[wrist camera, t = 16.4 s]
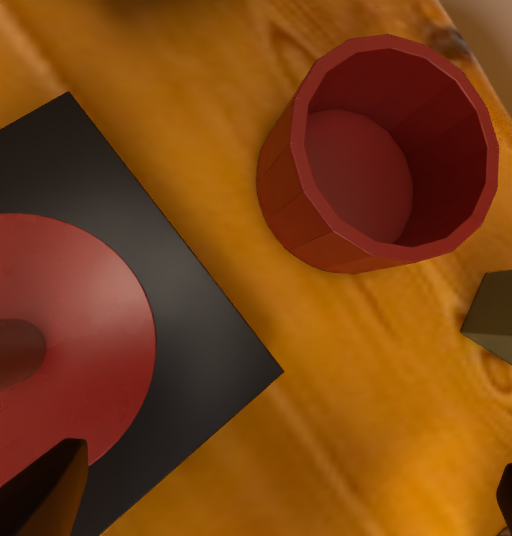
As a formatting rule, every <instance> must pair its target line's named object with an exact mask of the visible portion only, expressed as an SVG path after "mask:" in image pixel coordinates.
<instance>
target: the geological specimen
mask: <svg viewBox="0 0 512 536" xmlns="http://www.w3.org/2000/svg"><path fill="white" fill-rule="evenodd" d="M498 536H511V534H510V531H509V529H508V527H507V528H506V529H505V530H504V531H503V532H502V533H500V534H499V535H498Z"/></svg>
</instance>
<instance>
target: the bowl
mask: <svg viewBox="0 0 512 536" xmlns="http://www.w3.org/2000/svg"><path fill="white" fill-rule="evenodd" d="M498 147H499V145H498V141H497V138H496V135H495V131H494V128H493V125H492V122H491V118H490V115H489V112H488V108H487V107H486V104H485V103H484V102H483V100H482V99H481V97H480V96H479V94H478V93H477V92H476V90H475V89H474V87H473V86H472V84H471V83H470V81H469V80H468V79H467V77H466V76H465V74H464V73H463V72H461V70H460V69H459V68H458V67H456V66H455V65H453V64H452V63H451V62H449V61H448V60H447V59H445V58H444V57H443V56H441V55H440V54H439V53H437V52H436V51H435V50H433V49H432V48H431V47H429V46H427V45H424V44H421V43H417V42H414V41H411V40H407V39H404V38H400V37H397V36H393V35H389V34H385V35H377V36H369V37H361V38H353V39H349V40H347V41H345V42H344V43H342V44H341V45H339V46H338V47H336V48H335V49H333V50H332V51H330V52H329V53H327V54H326V55H324V56H322V57H321V58H319V59H318V60H316V62H315V63H314V64H313V66H312V67H311V69H310V70H309V72H308V74H307V75H306V77H305V78H304V80H303V81H302V83H301V85H300V86H299V88H298V89H297V91H296V92H295V94H294V96H293V97H292V99H291V100H290V102H289V103H288V105H287V107H286V108H285V110H284V111H283V113H282V114H281V116H280V118H279V119H278V121H277V122H276V124H275V126H274V127H273V129H272V131H271V133H270V134H269V136H268V137H267V139H266V141H265V143H264V144H263V146H262V148H261V151H260V156H259V161H258V166H257V177H256V183H257V194H258V198H259V203H260V207H261V209H262V212H263V215H264V217H265V219H266V221H267V224H268V226H269V227H270V229H271V230H272V232H273V233H274V235H275V236H276V238H277V239H278V240H279V241H280V242H281V244H282V245H283V246H284V247H285V248H286V249H287V250H289V251H290V252H291V253H292V254H293V255H294V256H296V257H297V258H299V259H300V260H302V261H303V262H305V263H307V264H309V265H311V266H313V267H316V268H318V269H321V270H325V271H329V272H334V273H348V274H357V273H363V272H368V271H373V270H379V269H384V268H389V267H395V266H400V265H405V264H411V263H416V262H419V261H423V260H426V259H429V258H433V257H436V256H440V255H443V254H446V253H450V252H452V251H454V250H455V249H456V248H457V247H458V246H459V245H461V244H462V243H463V242H464V241H465V240H466V239H467V238H468V237H469V236H470V235H472V234H473V233H474V232H475V231H476V230H477V229H478V228H479V227H480V226H481V225H482V223H483V221H484V219H485V216H486V214H487V212H488V210H489V207H490V205H491V203H492V200H493V198H494V196H495V194H496V191H497V187H498V162H499V148H498Z"/></svg>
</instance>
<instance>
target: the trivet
mask: <svg viewBox="0 0 512 536" xmlns="http://www.w3.org/2000/svg"><path fill="white" fill-rule="evenodd" d="M2 213H22V214H34V215H40V216H45V217H51V218H54V219H58V220H61V221H64V222H67V223H70V224H72V225H75V226H77V227H79V228H81V229H83V230H86V231H87V232H89V233H91V234H92V235H94V236H96V237H97V238H99V239H100V240H102V241H103V242H104V243H106V244H107V245H108V246H109V247H111V248H112V249H113V250H114V251H115V252H116V253H117V254H118V255H119V256H120V257H121V258H122V259H123V260H124V261H125V262H126V263H127V264H128V266H129V267H130V268H131V270H132V271H133V272H134V274H135V275H136V277H137V278H138V280H139V282H140V284H141V286H142V287H143V289H144V291H145V293H146V296H147V298H148V301H149V304H150V306H151V310H152V314H153V318H154V323H155V331H156V359H155V365H154V371H153V376H152V380H151V383H150V386H149V389H148V392H147V395H146V397H145V399H144V401H143V404H142V406H141V408H140V410H139V412H138V413H137V415H136V417H135V418H134V420H133V422H132V423H131V425H130V426H129V428H128V429H127V430H126V431H125V433H124V434H123V435H122V436H121V438H120V439H119V440H118V441H117V442H116V443H115V444H114V445H113V446H112V447H111V448H110V449H109V450H108V451H107V452H106V453H105V454H104V455H103V456H102V457H100V458H99V459H98V460H97V461H95V462H94V463H93V464H91V465H90V466H89V467H88V477H87V482H86V485H85V489H84V492H83V495H82V498H81V501H80V505H79V508H78V511H77V514H76V517H75V521H74V524H73V527H72V530H71V533H70V536H99V535H100V534H101V533H102V532H104V531H105V530H106V529H107V528H108V527H109V526H110V525H112V524H113V523H114V522H115V521H116V520H117V519H118V518H119V517H121V516H122V515H123V514H124V513H125V512H126V511H127V510H128V509H130V508H131V507H132V506H133V505H134V504H135V503H136V502H138V501H139V500H140V499H141V498H142V497H143V496H144V495H145V494H147V493H148V492H149V491H150V490H151V489H152V488H153V487H155V486H156V485H157V484H158V483H159V482H160V481H161V480H162V479H164V478H165V477H166V476H167V475H168V474H169V473H170V472H171V471H173V470H174V469H175V468H176V467H177V466H178V465H179V464H181V463H182V462H183V461H184V460H185V459H186V458H187V457H188V456H190V455H191V454H192V453H193V452H194V451H195V450H196V449H198V448H199V447H200V446H201V445H202V444H203V443H204V442H205V441H207V440H208V439H209V438H210V437H211V436H212V435H213V434H215V433H216V432H217V431H218V430H219V429H220V428H221V427H222V426H224V425H225V424H226V423H227V422H228V421H229V420H230V419H231V418H233V417H234V416H235V415H236V414H237V413H238V412H239V411H241V410H242V409H243V408H244V407H245V406H246V405H247V404H248V403H250V402H251V401H252V400H253V399H254V398H255V397H256V396H258V395H259V394H260V393H261V392H262V391H263V390H264V389H265V388H267V387H268V386H269V385H270V384H271V383H272V382H273V381H274V380H276V379H277V378H278V377H279V376H280V375H281V374H282V373H284V370H283V369H282V368H281V366H280V365H279V364H278V363H277V361H276V360H275V359H274V357H273V356H272V355H271V353H270V352H269V351H268V350H267V348H266V347H265V346H264V344H263V343H262V342H261V340H260V339H259V338H258V337H257V335H256V334H255V333H254V331H253V330H252V329H251V327H250V326H249V325H248V323H247V322H246V321H245V320H244V318H243V317H242V316H241V314H240V313H239V312H238V310H237V309H236V308H235V307H234V305H233V304H232V303H231V301H230V300H229V299H228V297H227V296H226V295H225V294H224V292H223V291H222V290H221V288H220V287H219V286H218V284H217V283H216V282H215V281H214V279H213V278H212V277H211V275H210V274H209V273H208V271H207V270H206V269H205V268H204V266H203V265H202V264H201V262H200V261H199V260H198V258H197V257H196V256H195V255H194V253H193V252H192V251H191V249H190V248H189V247H188V245H187V244H186V243H185V242H184V240H183V239H182V238H181V236H180V235H179V234H178V232H177V231H176V230H175V228H174V227H173V226H172V225H171V223H170V222H169V221H168V219H167V218H166V217H165V215H164V214H163V213H162V212H161V210H160V209H159V208H158V206H157V205H156V204H155V202H154V201H153V200H152V199H151V197H150V196H149V195H148V193H147V192H146V191H145V189H144V188H143V187H142V186H141V184H140V183H139V182H138V180H137V179H136V178H135V176H134V175H133V174H132V173H131V171H130V170H129V169H128V167H127V166H126V165H125V163H124V162H123V161H122V160H121V158H120V157H119V156H118V154H117V153H116V152H115V150H114V149H113V148H112V146H111V145H110V144H109V143H108V141H107V140H106V139H105V137H104V136H103V135H102V133H101V132H100V131H99V130H98V128H97V127H96V126H95V124H94V123H93V122H92V120H91V119H90V118H89V117H88V115H87V114H86V113H85V111H84V110H83V109H82V107H81V106H80V105H79V104H78V102H77V101H76V100H75V98H74V97H73V96H72V94H71V93H70V92H69V91H68V92H66V93H64V94H62V95H61V96H59V97H57V98H55V99H53V100H52V101H50V102H48V103H46V104H45V105H43V106H41V107H39V108H38V109H36V110H34V111H32V112H30V113H29V114H27V115H25V116H23V117H22V118H20V119H18V120H16V121H15V122H13V123H11V124H9V125H7V126H6V127H4V128H2V129H0V214H2Z"/></svg>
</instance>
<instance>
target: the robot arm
mask: <svg viewBox="0 0 512 536" xmlns="http://www.w3.org/2000/svg"><path fill="white" fill-rule="evenodd" d="M87 477H88V445H87V441H86V440H85V439H83V438H65V439H63V440H62V441H60V442H59V443H58V444H56V445H55V446H54V447H52V448H51V449H50V450H48V451H47V452H46V453H44V454H43V455H42V456H41V457H39V458H38V459H37V460H35V461H34V462H33V463H31V464H30V465H29V466H27V467H26V468H25V469H23V470H22V471H21V472H19V473H18V474H17V475H16V476H14V477H13V478H12V479H10V480H9V481H8V482H6V483H5V484H4V485H2V486H1V487H0V536H70V533H71V530H72V527H73V524H74V521H75V517H76V514H77V511H78V508H79V505H80V501H81V498H82V495H83V492H84V489H85V485H86V482H87ZM496 498H497V502H498V505H499V508H500V510H501V512H502V515H503V517H504V519H505V522H506V524H507V527H508V529H509V531H510V534H511V536H512V463H509V464H507V465H506V467H505V469H504V472H503V474H502V477H501V480H500V482H499V485H498V488H497V491H496Z"/></svg>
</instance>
